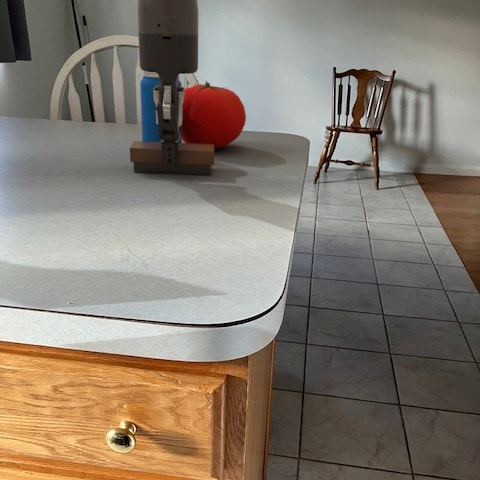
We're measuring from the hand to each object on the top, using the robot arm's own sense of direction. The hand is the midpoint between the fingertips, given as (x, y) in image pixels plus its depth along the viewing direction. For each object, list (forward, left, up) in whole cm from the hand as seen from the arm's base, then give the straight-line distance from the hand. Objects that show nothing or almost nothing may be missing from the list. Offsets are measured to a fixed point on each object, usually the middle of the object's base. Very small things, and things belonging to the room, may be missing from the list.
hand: (170, 169), depth 76 cm
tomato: (+6, +22, -1) cm, 23 cm away
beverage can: (-2, +16, -1) cm, 16 cm away
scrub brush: (0, +5, -1) cm, 5 cm away
